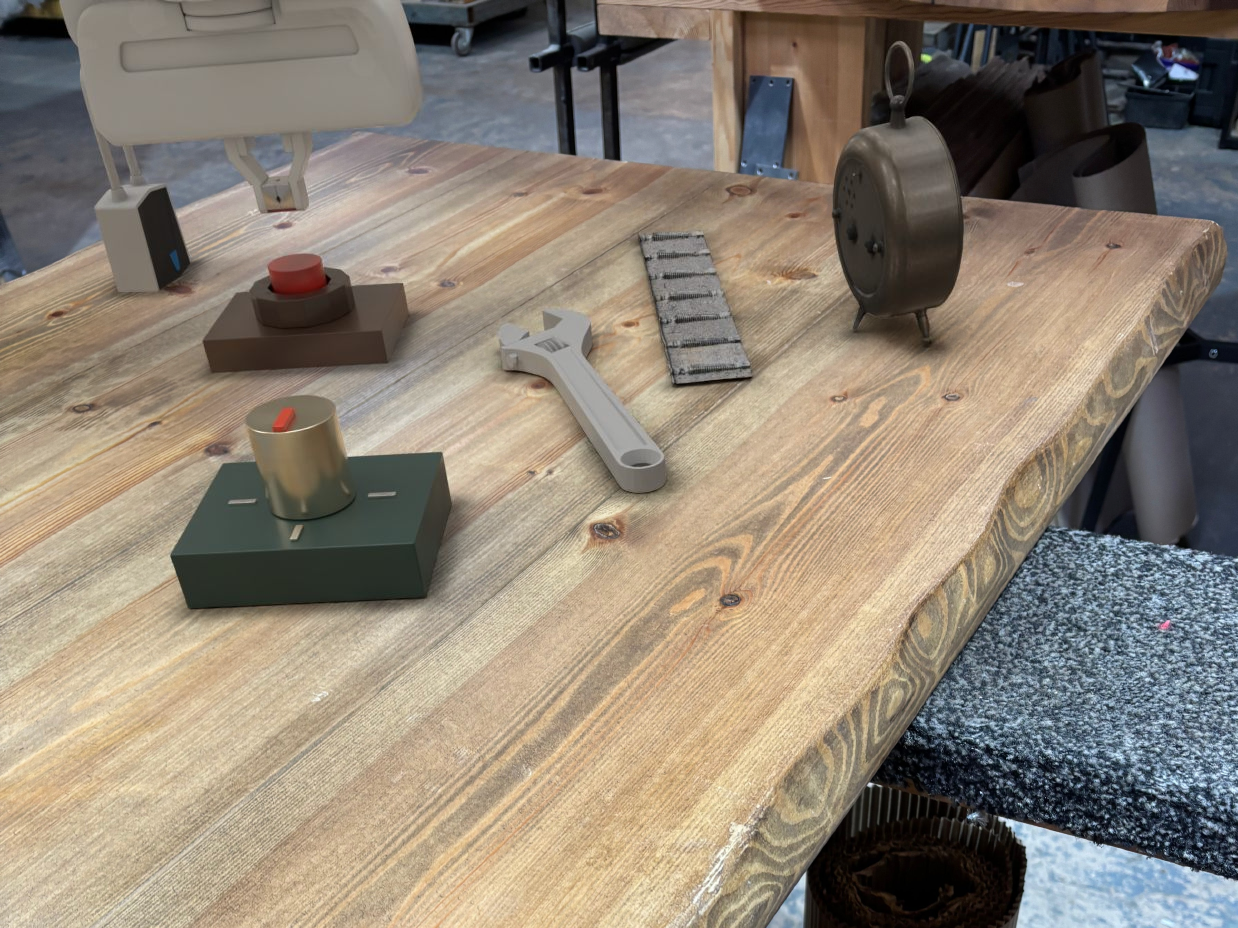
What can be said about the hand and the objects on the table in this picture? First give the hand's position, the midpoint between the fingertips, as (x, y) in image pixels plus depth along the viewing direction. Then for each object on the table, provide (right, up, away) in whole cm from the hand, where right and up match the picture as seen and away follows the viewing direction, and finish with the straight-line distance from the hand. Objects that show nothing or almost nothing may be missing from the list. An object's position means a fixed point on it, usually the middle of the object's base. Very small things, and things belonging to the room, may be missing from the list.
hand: (285, 209), depth 86 cm
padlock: (-15, +4, +18) cm, 24 cm away
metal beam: (+26, -3, +7) cm, 27 cm away
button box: (0, -6, +6) cm, 9 cm away
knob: (+7, -24, -19) cm, 31 cm away
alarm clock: (+39, -7, +2) cm, 40 cm away
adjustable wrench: (+19, -15, -5) cm, 24 cm away
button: (0, -4, +3) cm, 5 cm away
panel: (+7, -26, -17) cm, 32 cm away
